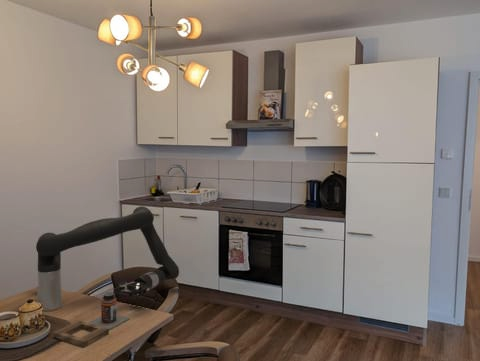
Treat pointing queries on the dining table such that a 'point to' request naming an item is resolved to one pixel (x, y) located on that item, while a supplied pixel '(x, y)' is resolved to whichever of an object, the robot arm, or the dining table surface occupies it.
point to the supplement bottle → (108, 308)
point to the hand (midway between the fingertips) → (121, 293)
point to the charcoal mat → (111, 325)
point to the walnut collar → (86, 340)
